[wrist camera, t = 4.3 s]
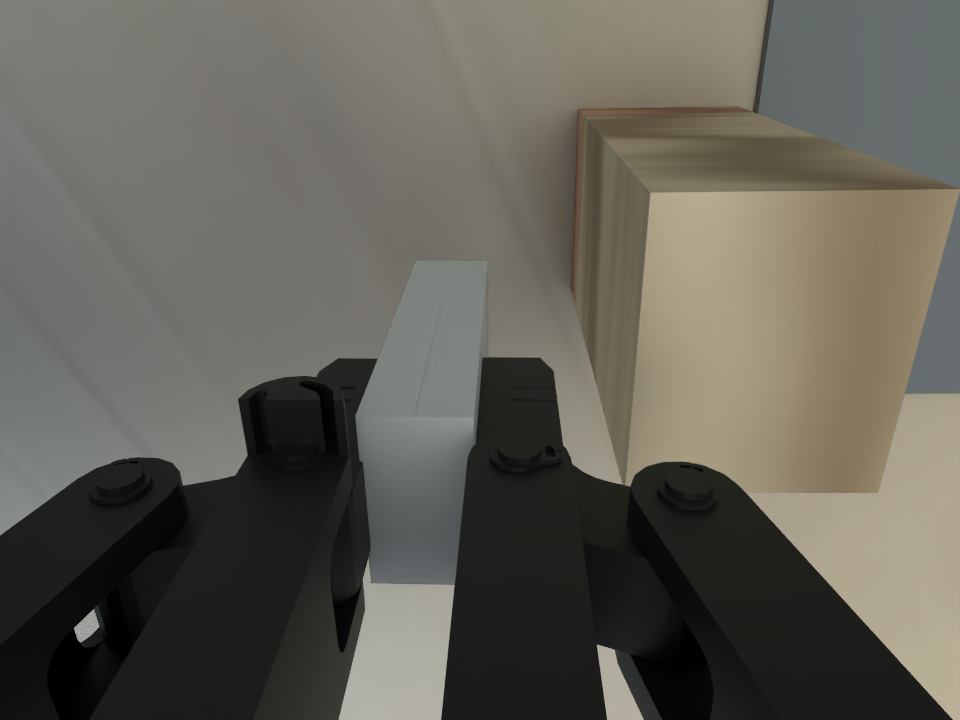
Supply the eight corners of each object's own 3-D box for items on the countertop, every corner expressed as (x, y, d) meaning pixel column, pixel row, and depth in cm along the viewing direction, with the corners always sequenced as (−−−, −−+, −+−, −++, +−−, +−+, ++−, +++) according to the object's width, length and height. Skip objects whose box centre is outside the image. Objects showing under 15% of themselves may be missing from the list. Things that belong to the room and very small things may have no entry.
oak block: (571, 288, 25) (624, 492, 14) (578, 109, 23) (650, 192, 12) (714, 287, 25) (878, 492, 14) (738, 106, 22) (960, 188, 12)
